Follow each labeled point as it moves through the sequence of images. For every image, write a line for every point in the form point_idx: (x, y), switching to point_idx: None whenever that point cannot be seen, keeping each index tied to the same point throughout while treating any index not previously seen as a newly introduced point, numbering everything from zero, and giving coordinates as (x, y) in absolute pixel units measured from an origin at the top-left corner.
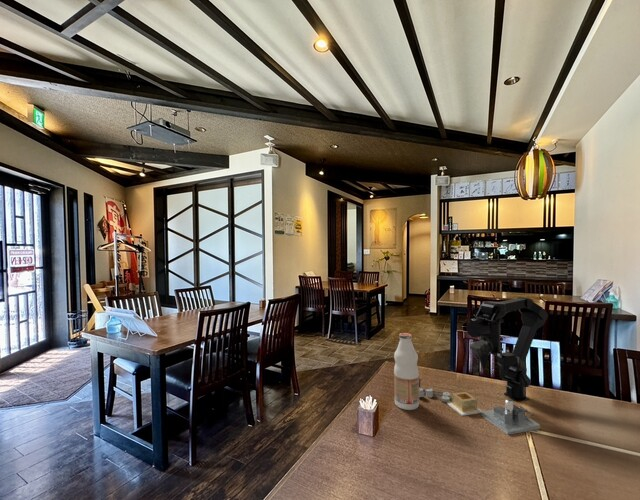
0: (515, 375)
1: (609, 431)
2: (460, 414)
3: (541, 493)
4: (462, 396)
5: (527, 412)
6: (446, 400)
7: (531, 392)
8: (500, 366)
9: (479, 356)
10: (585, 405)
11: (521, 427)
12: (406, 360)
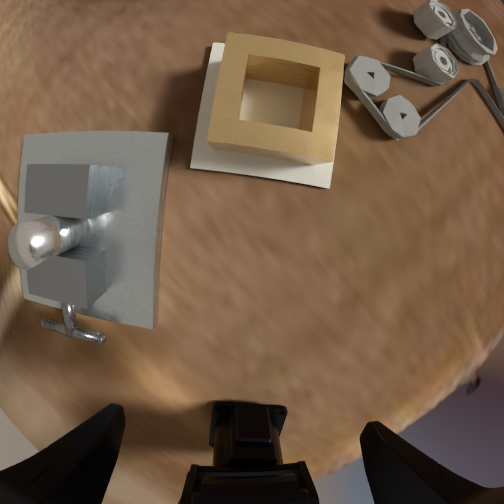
0: (193, 501)
1: (33, 425)
2: (224, 46)
3: None
4: (310, 115)
5: (61, 323)
6: (350, 63)
7: None
8: (20, 487)
9: (458, 498)
10: (143, 493)
11: (19, 209)
12: None
